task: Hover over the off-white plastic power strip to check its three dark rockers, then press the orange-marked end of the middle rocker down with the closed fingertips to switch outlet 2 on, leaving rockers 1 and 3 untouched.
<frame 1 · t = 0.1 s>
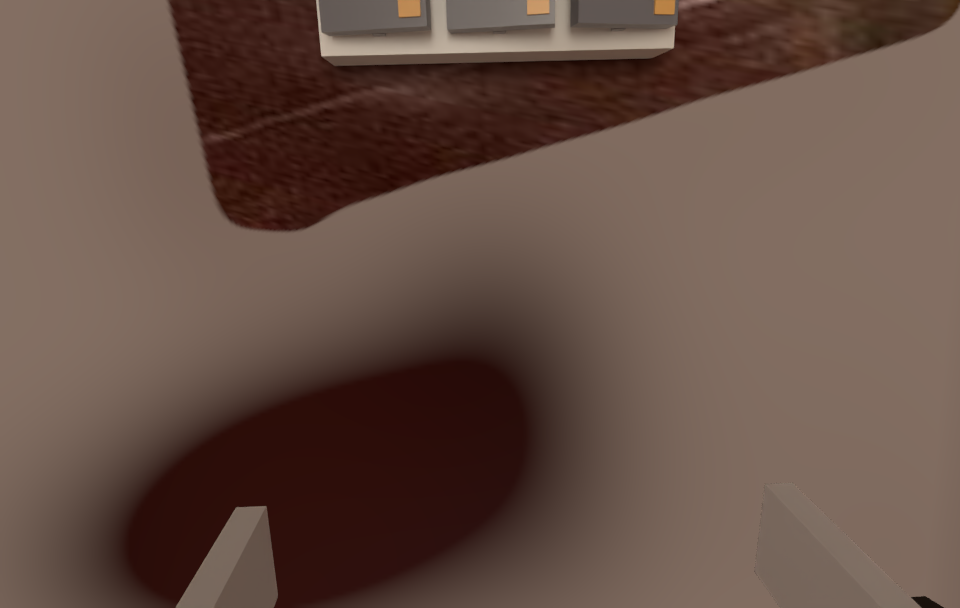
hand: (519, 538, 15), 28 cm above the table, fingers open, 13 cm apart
power strip: (493, 3, 38), on the table
rocker 1: (374, 1, 32), point 6 cm above the table, hinge at 10.0°
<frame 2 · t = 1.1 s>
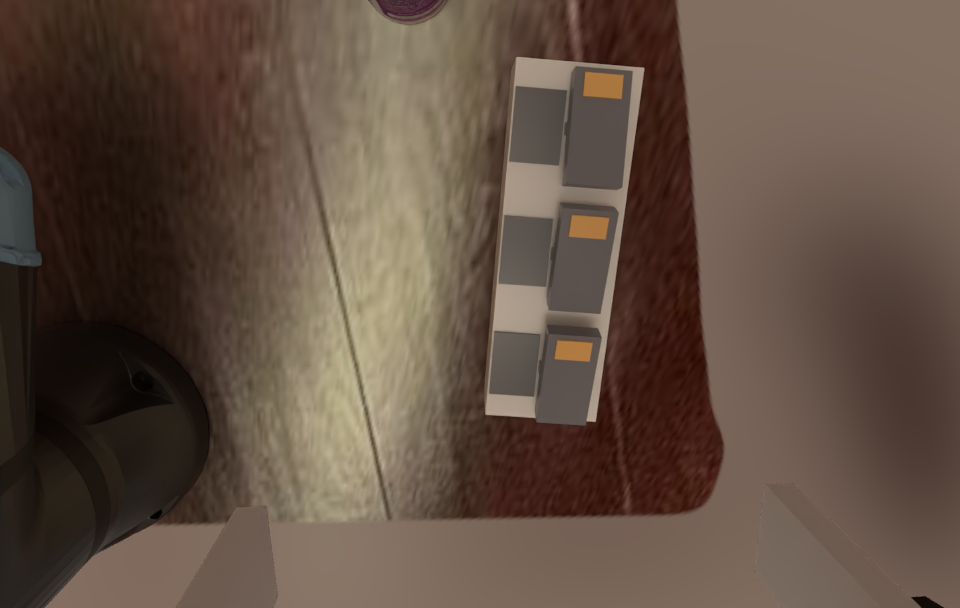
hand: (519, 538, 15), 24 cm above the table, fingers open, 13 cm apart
power strip: (550, 243, 38), on the table
rocker 1: (566, 376, 34), point 6 cm above the table, hinge at 10.0°
rocker 2: (580, 259, 33), point 6 cm above the table, hinge at 10.0°
rocker 3: (596, 129, 31), point 6 cm above the table, hinge at -10.0°
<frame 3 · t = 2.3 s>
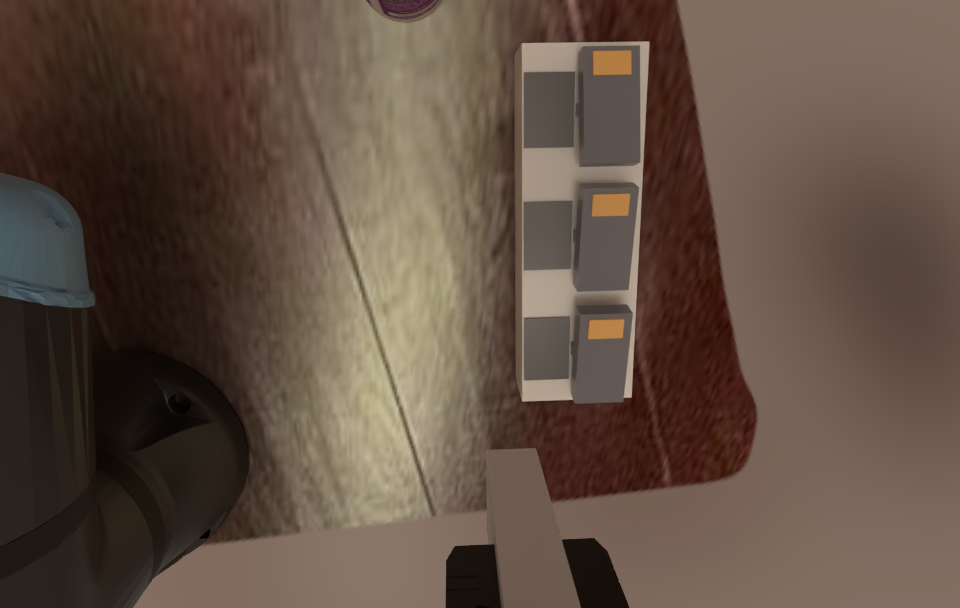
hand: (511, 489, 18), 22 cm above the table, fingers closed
power strip: (568, 226, 38), on the table
rocker 1: (600, 355, 35), point 6 cm above the table, hinge at 10.0°
rocker 2: (604, 238, 33), point 6 cm above the table, hinge at 10.0°
rocker 3: (609, 107, 31), point 6 cm above the table, hinge at -10.0°
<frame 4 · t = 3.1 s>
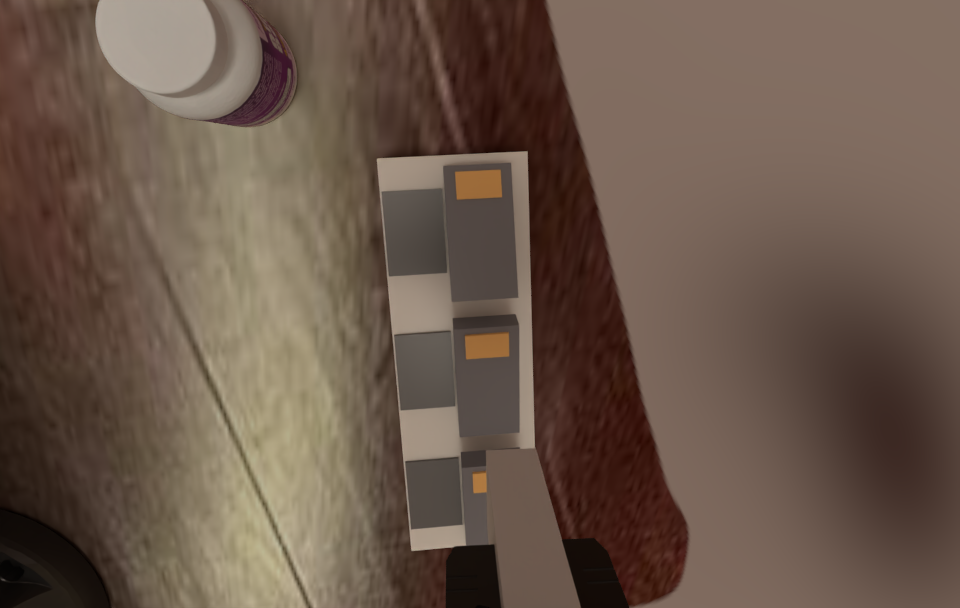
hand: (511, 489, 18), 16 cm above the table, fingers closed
pill bottle: (245, 72, 29), on the table
power strip: (460, 342, 33), on the table
rocker 1: (493, 504, 30), point 6 cm above the table, hinge at 10.0°
rocker 2: (487, 377, 28), point 6 cm above the table, hinge at 10.0°
rocker 3: (480, 233, 26), point 6 cm above the table, hinge at -10.0°
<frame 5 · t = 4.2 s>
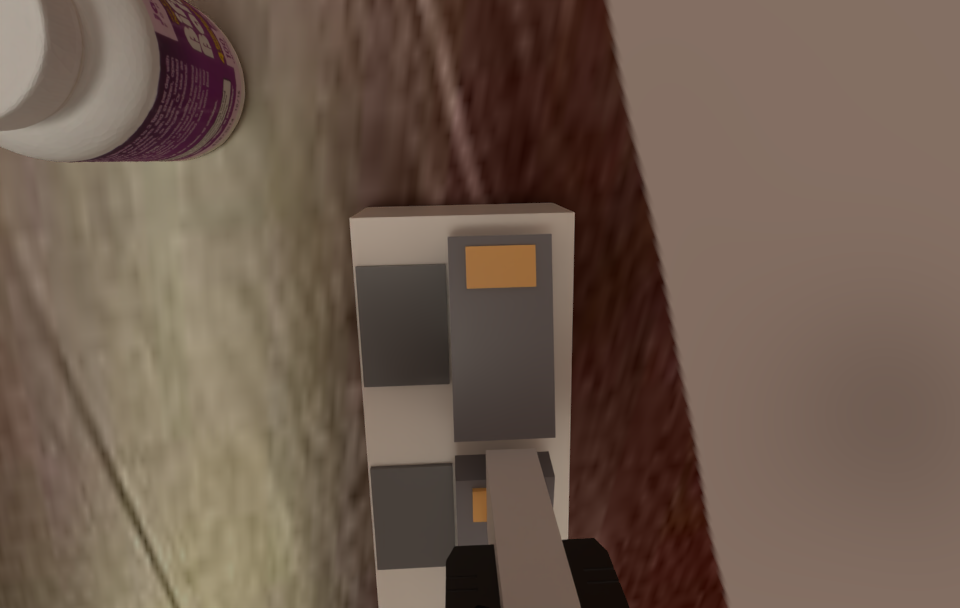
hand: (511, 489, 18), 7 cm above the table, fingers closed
pill bottle: (173, 82, 21), on the table
power strip: (467, 456, 25), on the table
rocker 2: (503, 540, 19), point 6 cm above the table, hinge at 9.8°, touching gripper
rocker 3: (500, 336, 17), point 6 cm above the table, hinge at -10.0°
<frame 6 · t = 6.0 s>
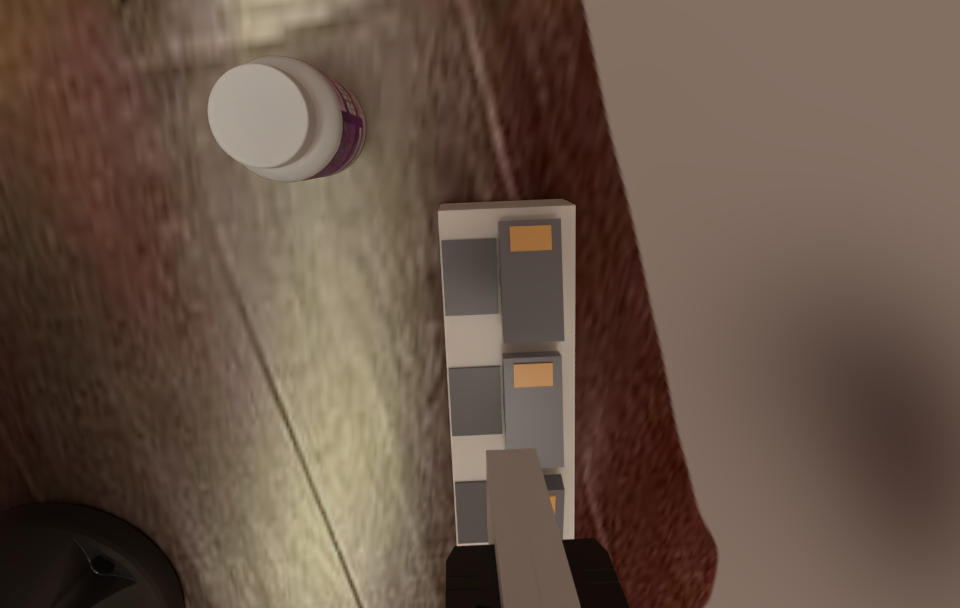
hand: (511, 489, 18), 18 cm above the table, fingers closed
pill bottle: (319, 126, 32), on the table
power strip: (506, 372, 36), on the table
rocker 1: (534, 525, 33), point 6 cm above the table, hinge at 10.0°
rocker 2: (533, 410, 31), point 6 cm above the table, hinge at -6.5°
rocker 3: (530, 281, 29), point 6 cm above the table, hinge at -10.1°
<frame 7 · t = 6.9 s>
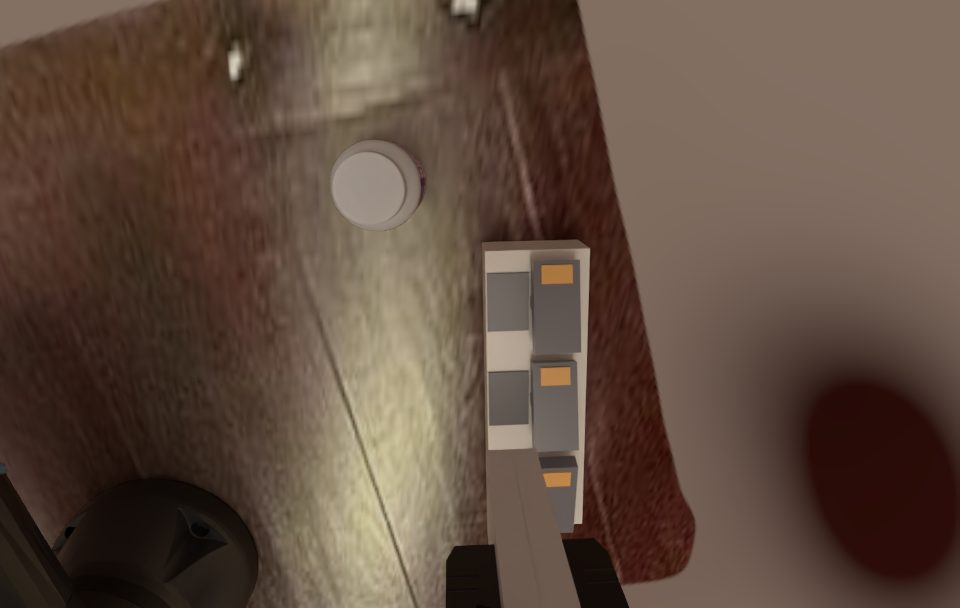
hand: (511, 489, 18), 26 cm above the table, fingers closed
pill bottle: (388, 180, 41), on the table
power strip: (529, 375, 45), on the table
rocker 1: (553, 496, 41), point 6 cm above the table, hinge at 10.0°
rocker 2: (554, 405, 40), point 6 cm above the table, hinge at -12.3°
rocker 3: (555, 306, 38), point 6 cm above the table, hinge at -10.5°
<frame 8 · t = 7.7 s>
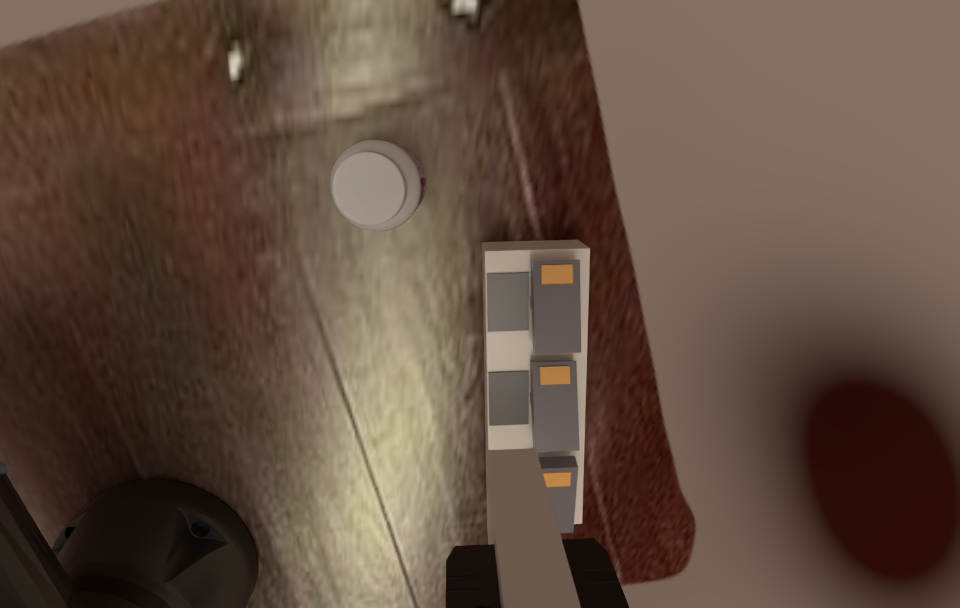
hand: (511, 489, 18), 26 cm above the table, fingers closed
pill bottle: (388, 180, 41), on the table
power strip: (529, 375, 45), on the table
rocker 1: (553, 496, 41), point 6 cm above the table, hinge at 10.0°
rocker 2: (554, 405, 40), point 6 cm above the table, hinge at -16.3°
rocker 3: (556, 306, 38), point 6 cm above the table, hinge at -10.8°
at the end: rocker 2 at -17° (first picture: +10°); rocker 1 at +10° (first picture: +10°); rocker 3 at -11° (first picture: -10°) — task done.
